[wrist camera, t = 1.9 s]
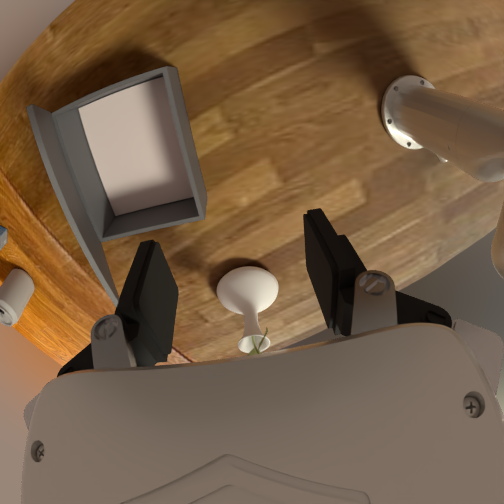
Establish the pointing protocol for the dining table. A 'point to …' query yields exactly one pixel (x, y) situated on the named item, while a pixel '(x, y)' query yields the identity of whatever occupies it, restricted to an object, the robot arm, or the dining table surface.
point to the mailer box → (133, 155)
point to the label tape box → (3, 237)
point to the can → (15, 296)
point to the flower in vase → (249, 302)
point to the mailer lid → (69, 195)
